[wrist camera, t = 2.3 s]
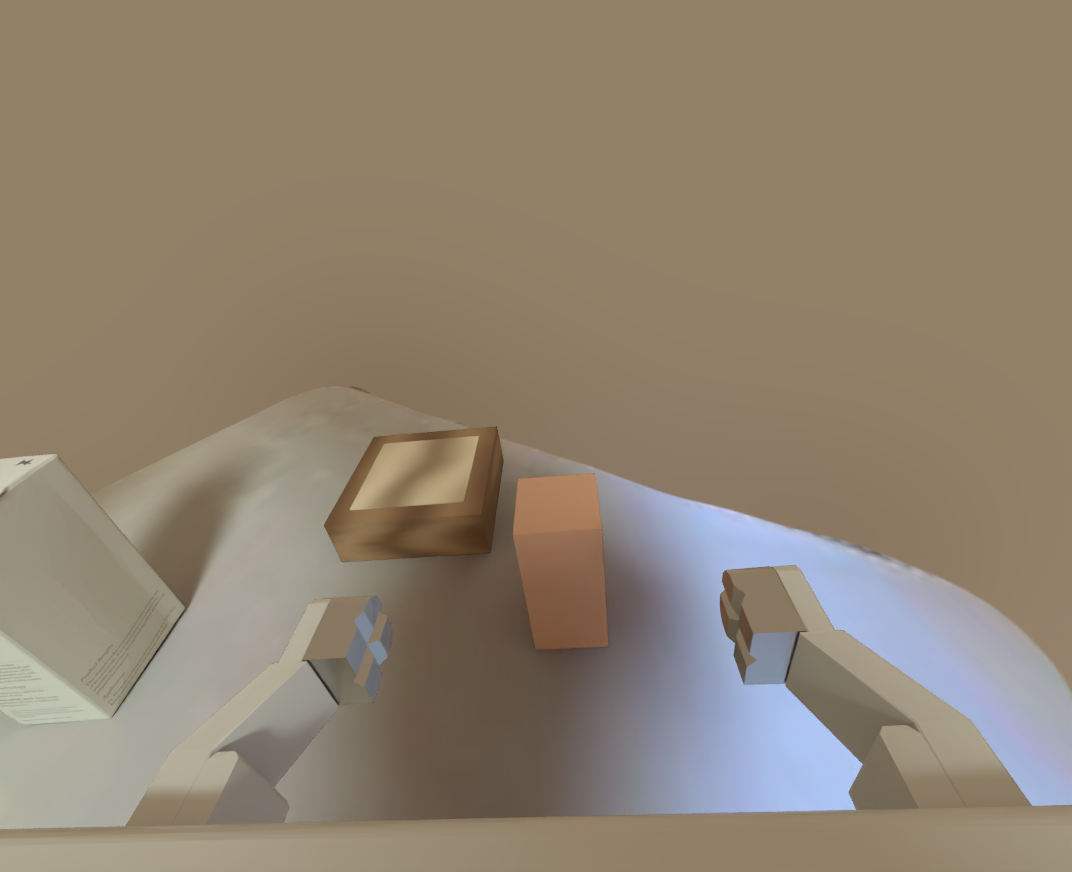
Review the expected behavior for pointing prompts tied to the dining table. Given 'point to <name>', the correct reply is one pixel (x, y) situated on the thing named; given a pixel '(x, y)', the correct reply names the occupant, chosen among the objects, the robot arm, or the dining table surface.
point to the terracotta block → (562, 560)
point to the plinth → (420, 497)
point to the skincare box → (70, 599)
